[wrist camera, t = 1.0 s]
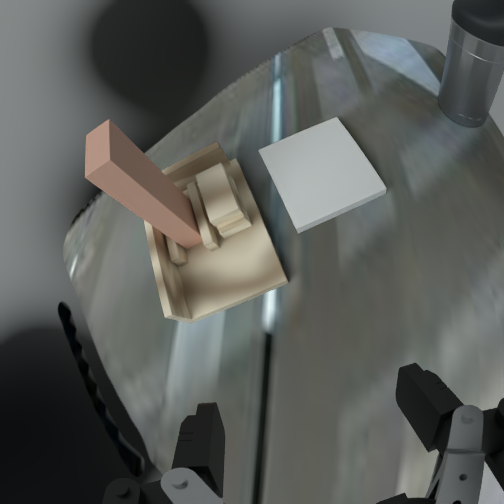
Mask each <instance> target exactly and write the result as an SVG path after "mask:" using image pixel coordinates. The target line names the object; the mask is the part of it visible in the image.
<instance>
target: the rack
mask: <svg viewBox="0 0 504 504" xmlns="http://www.w3.org/2000/svg"><path fill="white" fill-rule="evenodd" d="M219 163H222V165H223V166H224V168H225V170H226V172H227V174H228V175H229V174H230V175H231V176H232V178H233V179H234V182H235V184H236V187H237V189H238V192H239V194H240V197H241V199H242V202H243V204H244V207H245V210H246V212H247V215H248V217H249V220H250V222H251V225H252V226H250V227H248V228H246V229H244V230H242V231H240V232H237V233H235V234H233V235H231V236H229V237H227V238H225V239H224V238H223V237H222V236H221V235H220V233H219V230H218V229H217V226H214V225H213V224H212V223H211V222H210V221H209V218H208V214H207V211H206V208H205V205H204V202H203V198H202V195H201V192H200V189H199V185H198V182H197V179H196V176H195V175H197V174H199V173H201V172H203V171H205V170H207V169H209V168H211V167H213V166H215V165H217V164H219ZM162 172H163V173H164V174H165V175H166V176H167V177H168V178H169V179H170V180H171V181H172V182H173V183H174V184H175V185H176V186H177V187H178V188H179V189H180V190H181V191H182V192H183V193H184V194H185V195H186V196H187V197H188V198H189V199H190V200H191V203H192V206H193V210H194V213H195V217H196V220H197V224H198V227H199V230H200V234H201V237H202V240H203V242H201V243H199V244H197V245H195V246H192V247H190V248H188V249H186V248H184V247H183V246H181V245H180V244H178V243H177V242H175V241H174V240H173V239H171V238H170V237H168V236H167V235H165V234H164V233H162V232H161V231H159V230H158V229H157V228H155V227H154V226H152V225H151V224H149V223H148V222H147V221H145V220H144V223H145V229H146V234H147V239H148V244H149V250H150V254H151V259H152V264H153V269H154V273H155V278H156V282H157V287H158V291H159V295H160V299H161V304H162V308H163V312H164V316H165V318H170V319H174V320H178V321H183V322H187V323H193V322H196V321H198V320H201V319H203V318H206V317H208V316H211V315H213V314H216V313H218V312H221V311H223V310H226V309H228V308H231V307H233V306H235V305H238V304H240V303H243V302H245V301H248V300H250V299H252V298H255V297H257V296H259V295H262V294H264V293H267V292H269V291H271V290H274V289H276V288H278V287H281V286H283V285H285V284H287V283H289V282H288V279H287V277H286V274H285V272H284V269H283V267H282V265H281V262H280V260H279V257H278V255H277V252H276V250H275V248H274V245H273V243H272V240H271V238H270V235H269V233H268V231H267V228H266V226H265V223H264V221H263V219H262V216H261V214H260V211H259V209H258V207H257V204H256V202H255V200H254V197H253V195H252V192H251V190H250V188H249V185H248V183H247V181H246V178H245V176H244V174H243V171H242V169H241V167H240V164H239V162H238V161H237V159H236V158H235V159H233V160H231V161H229V159H228V157H227V156H226V154H225V153H224V151H223V150H222V148H221V146H220V145H219V143H218V142H215V143H213V144H211V145H209V146H207V147H205V148H203V149H201V150H199V151H197V152H195V153H193V154H191V155H190V156H188V157H186V158H184V159H182V160H180V161H179V162H177V163H175V164H173V165H171V166H170V167H168V168H166V169H164V170H162Z"/></svg>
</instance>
